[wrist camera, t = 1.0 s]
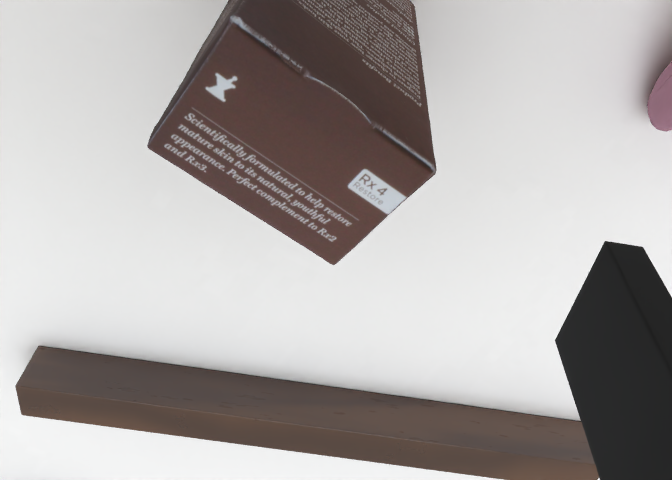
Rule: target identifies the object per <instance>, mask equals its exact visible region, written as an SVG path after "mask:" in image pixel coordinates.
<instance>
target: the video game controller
mask: <svg viewBox="0 0 672 480" xmlns="http://www.w3.org/2000/svg"><path fill="white" fill-rule="evenodd" d="M647 106H648V115H649V118H650V121H651V123H652V125H653V126H654V127H655V128H656V129H658V130H662V131H669V130H672V61H671V62H670V64H669V65H668V66H667V67H666V68H665V69H664V70H663V72H662V73H661V75H660V76H659V78H658V79H657V81H656V83H655V85H654V87H653V89H652V92H651V94H650V96H649V100H648V104H647Z"/></svg>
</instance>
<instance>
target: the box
mask: <svg viewBox="0 0 672 480" xmlns="http://www.w3.org/2000/svg"><path fill="white" fill-rule="evenodd" d="M148 148H149V149H150V150H152V151H153V152H155V153H157V154H158V155H160V156H161V157H163V158H164V159H166V160H168V161H169V162H171V163H172V164H174V165H176V166H177V167H179V168H181V169H182V170H184V171H185V172H187V173H189V174H190V175H192V176H193V177H195V178H196V179H198V180H199V181H201V182H202V183H204V184H206V185H207V186H209V187H210V188H212V189H214V190H215V191H217V192H218V193H220V194H221V195H223V196H225V197H226V198H228V199H229V200H231V201H233V202H234V203H236V204H237V205H239V206H241V207H242V208H244V209H245V210H247V211H248V212H250V213H252V214H253V215H255V216H256V217H258V218H259V219H261V220H263V221H264V222H266V223H267V224H269V225H271V226H272V227H274V228H275V229H277V230H279V231H280V232H282V233H283V234H285V235H287V236H288V237H290V238H291V239H293V240H294V241H296V242H297V243H299V244H301V245H302V246H304V247H306V248H307V249H309V250H310V251H312V252H313V253H315V254H316V255H318V256H320V257H321V258H323V259H324V260H326V261H327V262H329V263H330V264H332V265H335V264H336V263H337V262H339V261H340V260H341V259H342V258H343V257H344V256H345V255H346V254H347V253H349V252H350V251H351V250H352V249H353V248H354V247H355V246H356V245H357V244H358V243H359V242H361V241H362V240H363V239H364V238H365V237H366V236H367V235H368V234H369V233H370V232H371V231H372V230H373V229H374V228H375V227H376V226H377V225H379V224H380V223H381V222H382V221H383V220H384V219H385V218H386V217H387V216H388V215H389V214H390V213H391V212H392V211H394V210H395V209H396V208H397V207H398V206H399V205H400V204H401V203H402V202H403V201H405V200H406V199H407V198H408V197H409V196H410V195H412V194H413V193H414V192H415V191H416V190H417V189H418V188H420V187H421V186H422V185H423V184H424V183H425V182H426V181H428V180H429V179H430V178H431V177H432V176H433V175H435V173H436V163H435V158H434V153H433V144H432V136H431V128H430V120H429V113H428V105H427V97H426V90H425V82H424V75H423V69H422V59H421V52H420V45H419V36H418V30H417V22H416V14H415V7H414V5H413V4H412V3H411V2H410V1H409V0H229V1H228V3H227V5H226V7H225V8H224V10H223V11H222V13H221V15H220V17H219V19H218V20H217V22H216V24H215V26H214V27H213V29H212V31H211V33H210V34H209V36H208V37H207V39H206V40H205V42H204V44H203V45H202V47H201V49H200V51H199V52H198V54H197V56H196V58H195V60H194V61H193V63H192V65H191V67H190V69H189V71H188V72H187V74H186V76H185V78H184V80H183V82H182V83H181V85H180V86H179V88H178V90H177V92H176V93H175V95H174V96H173V98H172V100H171V102H170V103H169V105H168V107H167V108H166V110H165V112H164V114H163V115H162V117H161V119H160V120H159V122H158V123H157V125H156V126H155V127H154V130H153V132H152V134H151V136H150V139H149V142H148Z"/></svg>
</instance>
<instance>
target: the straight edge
mask: <svg viewBox="0 0 672 480" xmlns="http://www.w3.org/2000/svg"><path fill="white" fill-rule="evenodd" d="M16 391H17V396H18V400H19V405H20V410H21V414H22V415H26V416H33V417H41V418H48V419H56V420H63V421H71V422H78V423H86V424H93V425H101V426H108V427H116V428H123V429H130V430H138V431H145V432H153V433H160V434H168V435H175V436H183V437H190V438H198V439H205V440H213V441H220V442H228V443H235V444H243V445H250V446H258V447H265V448H272V449H280V450H287V451H295V452H302V453H310V454H317V455H325V456H332V457H340V458H347V459H355V460H362V461H370V462H377V463H385V464H392V465H400V466H407V467H415V468H422V469H429V470H437V471H444V472H452V473H459V474H467V475H474V476H482V477H489V478H497V479H504V480H597V479H598V478H599V475H598V472H597V468H596V465H595V462H594V459H593V456H592V453H591V450H590V447H589V444H588V441H587V438H586V435H585V431H584V428H583V425H582V422H579V421H572V420H565V419H557V418H550V417H543V416H536V415H529V414H522V413H514V412H507V411H500V410H493V409H486V408H479V407H471V406H464V405H457V404H450V403H443V402H436V401H428V400H421V399H414V398H407V397H400V396H393V395H385V394H378V393H371V392H364V391H357V390H350V389H342V388H335V387H328V386H321V385H314V384H307V383H300V382H292V381H285V380H278V379H271V378H264V377H257V376H249V375H242V374H235V373H228V372H221V371H214V370H206V369H199V368H192V367H185V366H178V365H171V364H163V363H156V362H149V361H142V360H135V359H128V358H120V357H113V356H106V355H99V354H92V353H85V352H78V351H70V350H63V349H56V348H49V347H42V346H38V348H37V350H36V351H35V353H34V355H33V356H32V358H31V360H30V362H29V363H28V365H27V367H26V369H25V370H24V372H23V374H22V375H21V377H20V379H19V381H18V382H17V384H16Z"/></svg>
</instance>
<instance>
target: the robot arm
mask: <svg viewBox="0 0 672 480" xmlns="http://www.w3.org/2000/svg"><path fill="white" fill-rule="evenodd" d="M555 342H556V345H557V348H558V351H559V354H560V357H561V360H562V363H563V367H564V370H565V373H566V376H567V379H568V382H569V385H570V388H571V391H572V394H573V397H574V401H575V404H576V407H577V410H578V413H579V416H580V419H581V422H582V425H583V428H584V431H585V435H586V438H587V441H588V444H589V447H590V450H591V453H592V456H593V459H594V462H595V465H596V468H597V472H598V475H599V478H600V480H672V297H671V295H670V294H669V292H668V290H667V288H666V287H665V285H664V283H663V281H662V280H661V278H660V276H659V274H658V273H657V271H656V269H655V267H654V266H653V264H652V262H651V261H650V259H649V257H648V255H647V254H646V252H645V250H644V248H643V247H639V246H633V245H627V244H620V243H614V242H607V241H605V242H604V244H603V246H602V248H601V250H600V252H599V254H598V256H597V258H596V260H595V262H594V264H593V266H592V268H591V270H590V272H589V274H588V276H587V278H586V280H585V282H584V284H583V286H582V288H581V290H580V292H579V294H578V296H577V298H576V300H575V302H574V304H573V306H572V308H571V310H570V312H569V314H568V316H567V318H566V320H565V322H564V324H563V326H562V328H561V330H560V332H559V334H558V336H557V338H556V340H555Z"/></svg>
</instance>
